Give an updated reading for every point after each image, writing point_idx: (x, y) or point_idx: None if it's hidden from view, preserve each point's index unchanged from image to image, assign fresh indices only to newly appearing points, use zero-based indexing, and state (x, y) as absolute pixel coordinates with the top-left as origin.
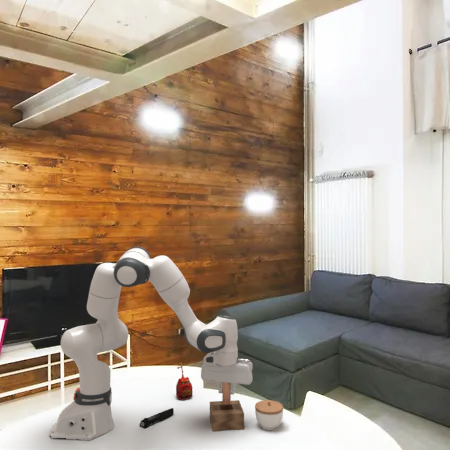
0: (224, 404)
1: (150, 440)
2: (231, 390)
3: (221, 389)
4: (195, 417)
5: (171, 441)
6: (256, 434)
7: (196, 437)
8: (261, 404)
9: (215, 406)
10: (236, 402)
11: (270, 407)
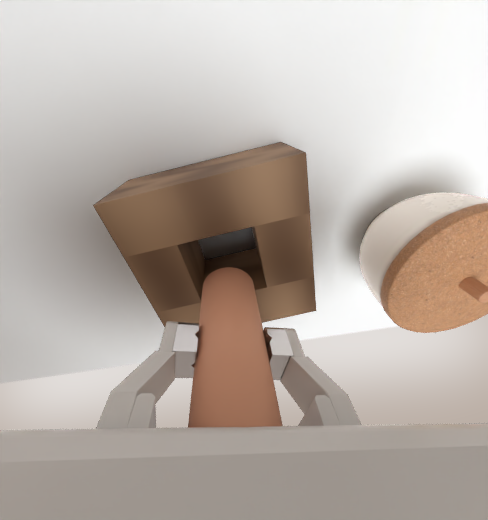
0: (209, 235)
1: (13, 362)
2: (276, 377)
3: (188, 374)
4: (59, 196)
5: (80, 357)
6: (333, 290)
7: (144, 331)
8: (430, 280)
9: (161, 268)
10: (285, 194)
11: (459, 303)
